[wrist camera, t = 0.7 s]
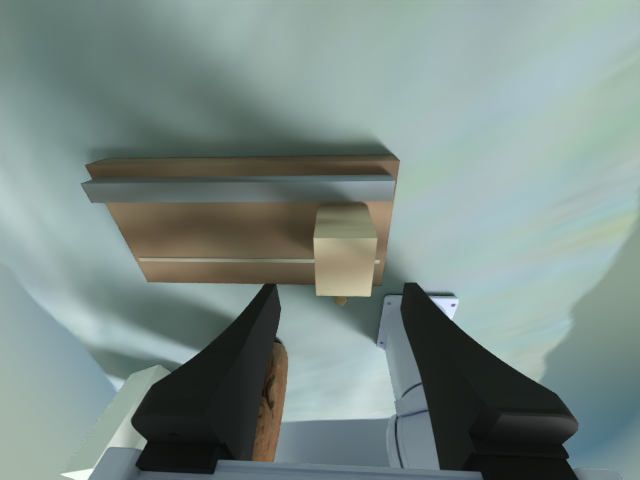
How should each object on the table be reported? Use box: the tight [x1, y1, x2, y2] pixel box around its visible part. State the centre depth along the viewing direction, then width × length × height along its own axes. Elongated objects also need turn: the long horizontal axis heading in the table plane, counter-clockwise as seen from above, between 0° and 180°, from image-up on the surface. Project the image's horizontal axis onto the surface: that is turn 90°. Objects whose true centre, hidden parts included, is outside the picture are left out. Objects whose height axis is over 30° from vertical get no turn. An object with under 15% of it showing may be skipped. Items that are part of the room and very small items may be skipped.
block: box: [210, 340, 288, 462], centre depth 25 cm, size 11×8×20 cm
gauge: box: [313, 206, 377, 305], centre depth 19 cm, size 9×4×5 cm, turn 1°
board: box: [81, 155, 400, 286], centre depth 21 cm, size 12×24×4 cm, turn 92°
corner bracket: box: [60, 364, 171, 480], centre depth 34 cm, size 11×11×12 cm
